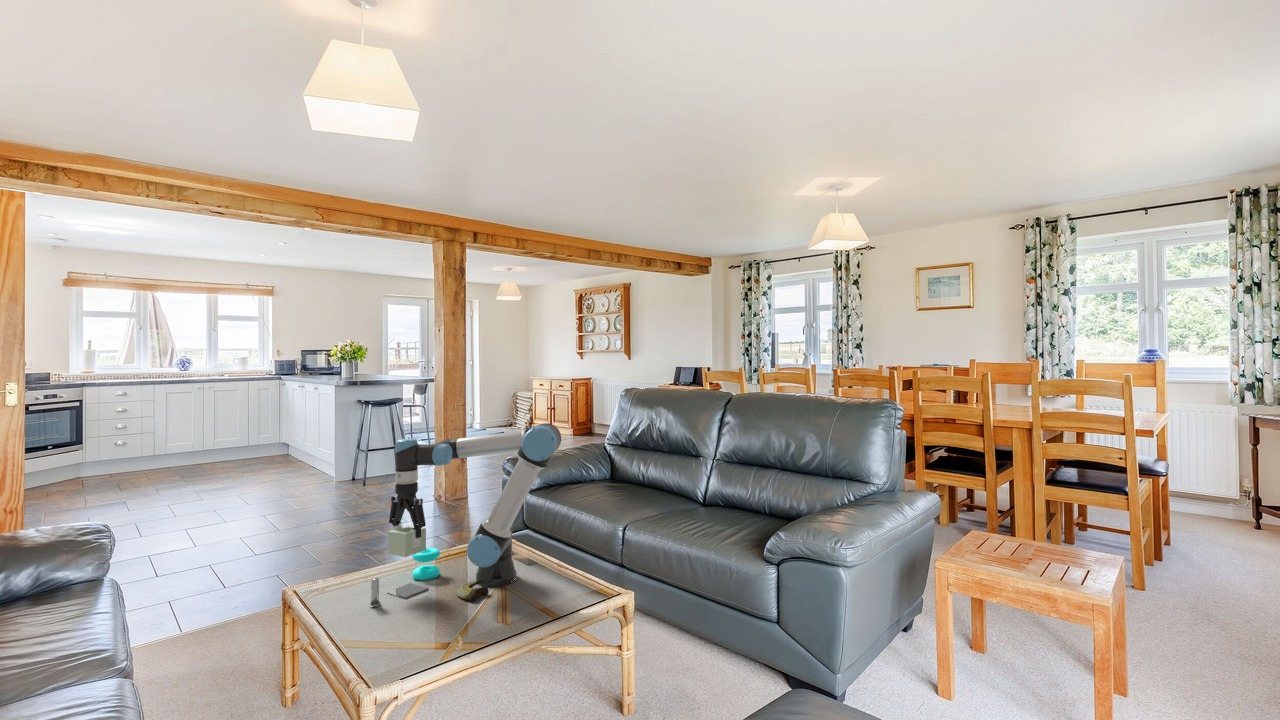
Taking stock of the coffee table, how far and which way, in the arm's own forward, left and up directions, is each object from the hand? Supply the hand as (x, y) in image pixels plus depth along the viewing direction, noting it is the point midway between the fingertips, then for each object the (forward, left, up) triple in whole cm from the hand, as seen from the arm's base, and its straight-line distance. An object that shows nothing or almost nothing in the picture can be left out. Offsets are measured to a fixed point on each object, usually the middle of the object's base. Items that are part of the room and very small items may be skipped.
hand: (407, 545), depth 210 cm
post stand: (0, +13, -17) cm, 22 cm away
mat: (+1, -1, -17) cm, 17 cm away
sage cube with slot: (0, 0, -2) cm, 2 cm away
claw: (-20, -13, -18) cm, 29 cm away
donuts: (+8, -15, -17) cm, 24 cm away
